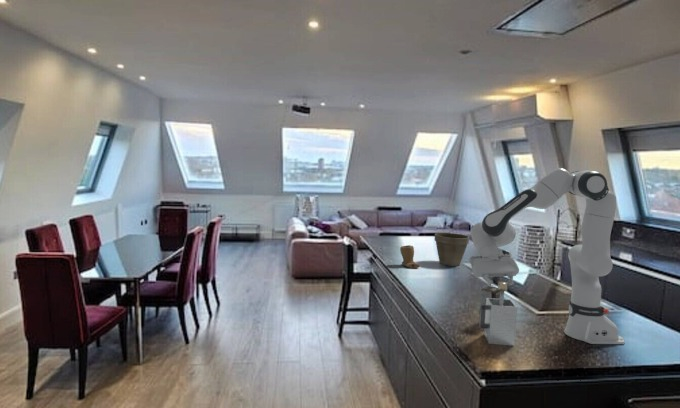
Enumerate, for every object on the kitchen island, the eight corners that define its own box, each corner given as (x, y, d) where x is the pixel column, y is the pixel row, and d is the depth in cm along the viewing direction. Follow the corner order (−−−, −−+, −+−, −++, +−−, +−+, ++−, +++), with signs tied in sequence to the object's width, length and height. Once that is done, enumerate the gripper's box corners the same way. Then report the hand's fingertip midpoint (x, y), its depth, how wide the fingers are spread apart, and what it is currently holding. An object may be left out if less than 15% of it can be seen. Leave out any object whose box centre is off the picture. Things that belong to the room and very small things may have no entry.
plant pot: (469, 262, 329) (471, 234, 327) (465, 269, 306) (467, 239, 304) (436, 258, 339) (438, 231, 337) (429, 265, 316) (431, 235, 314)
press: (508, 336, 185) (510, 299, 184) (514, 345, 175) (517, 307, 174) (476, 333, 187) (479, 297, 185) (481, 342, 177) (483, 304, 176)
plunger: (506, 332, 184) (510, 280, 182) (511, 340, 176) (515, 286, 174) (487, 331, 185) (490, 279, 183) (491, 338, 177) (494, 284, 175)
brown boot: (397, 264, 316) (398, 243, 315) (413, 264, 318) (414, 243, 317) (404, 269, 301) (405, 247, 300) (420, 268, 303) (421, 247, 302)
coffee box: (492, 327, 195) (494, 292, 194) (478, 323, 199) (480, 289, 198) (499, 322, 202) (501, 288, 201) (485, 318, 206) (487, 285, 205)
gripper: (471, 252, 184) (482, 281, 175) (513, 251, 188) (526, 280, 179) (465, 260, 188) (475, 289, 180) (507, 259, 193) (519, 287, 184)
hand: (501, 284), depth 180 cm, fingers open, 8 cm apart
